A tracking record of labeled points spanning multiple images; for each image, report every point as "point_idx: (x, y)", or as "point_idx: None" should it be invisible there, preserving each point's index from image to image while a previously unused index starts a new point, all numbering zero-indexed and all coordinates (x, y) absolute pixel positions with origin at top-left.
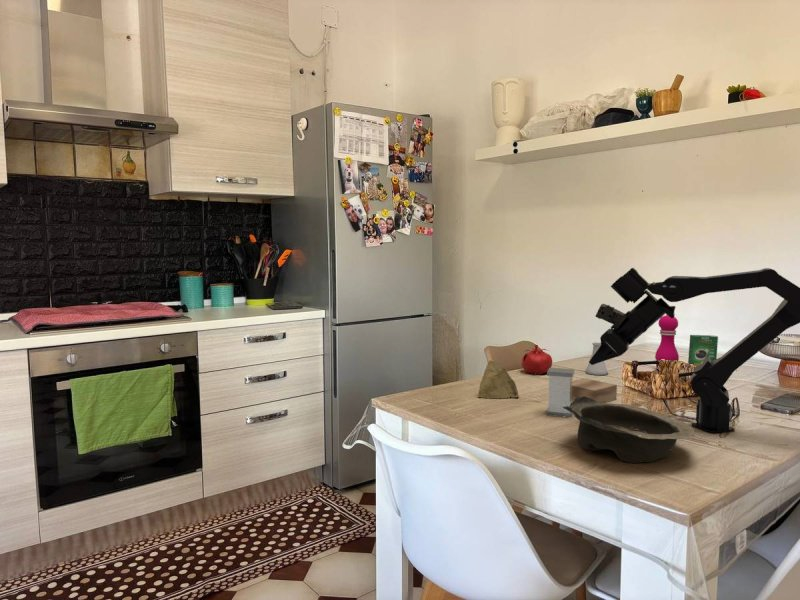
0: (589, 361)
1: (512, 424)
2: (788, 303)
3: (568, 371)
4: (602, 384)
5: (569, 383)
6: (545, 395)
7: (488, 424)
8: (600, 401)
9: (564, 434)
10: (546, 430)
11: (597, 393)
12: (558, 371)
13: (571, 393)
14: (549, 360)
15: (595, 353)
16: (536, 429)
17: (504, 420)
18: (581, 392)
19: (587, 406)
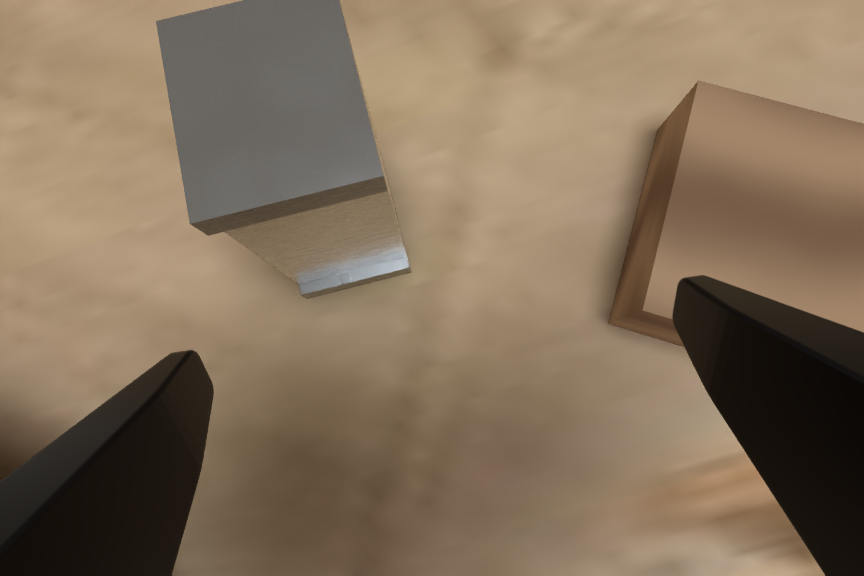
0: (167, 360)
1: (56, 117)
2: None
3: (251, 166)
4: (859, 299)
5: (227, 231)
6: (646, 41)
7: (8, 37)
8: (675, 340)
9: (13, 367)
10: (36, 275)
11: (665, 324)
12: (203, 96)
13: (389, 233)
14: None
15: (24, 471)
16: (31, 232)
17: (98, 65)
18: (653, 223)
19: None
